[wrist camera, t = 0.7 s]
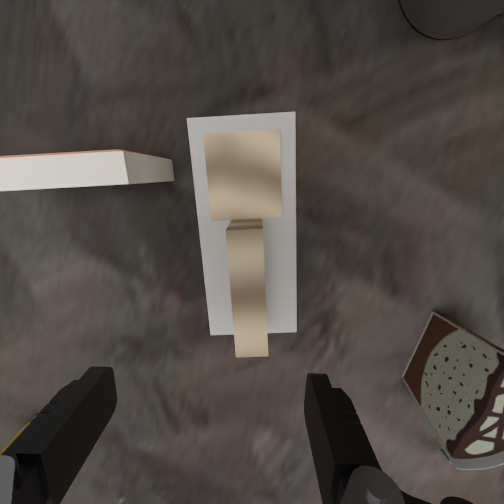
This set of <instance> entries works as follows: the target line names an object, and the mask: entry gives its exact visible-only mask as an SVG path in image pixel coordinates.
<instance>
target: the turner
mask: <svg viewBox="0 0 504 504" xmlns="http://www.w3.org/2000/svg"><path fill="white" fill-rule="evenodd" d="M203 140H204V150H205V161H206V171H207V182H208V192H209V202H210V213H211V221H219V220H231V221H230V223H229V225H228V227H227V229H226V242H227V254H228V266H229V279H230V291H231V303H232V315H233V327H234V340H235V352H236V357H261V356H268V338H267V314H266V290H265V266H264V242H263V225H262V218H279V217H282V197H281V150H280V129H272V130H255V131H238V132H221V133H205V134H203Z"/></svg>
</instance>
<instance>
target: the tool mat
mask: <svg viewBox="0 0 504 504" xmlns="http://www.w3.org/2000/svg"><path fill="white" fill-rule="evenodd" d="M187 125H188V134H189V143H190V152H191V162H192V171H193V180H194V189H195V198H196V207H197V216H198V225H199V234H200V243H201V252H202V261H203V271H204V280H205V289H206V298H207V307H208V316H209V325H210V334H211V335H232V334H234V327H233V315H232V303H231V291H230V279H229V266H228V254H227V242H226V229H227V227H228V225H229V223H230V221H231V220H219V221H211V213H210V202H209V192H208V182H207V171H206V161H205V150H204V140H203V134H205V133H221V132H238V131H255V130H272V129H280V150H281V197H282V217H279V218H262V225H263V242H264V266H265V290H266V314H267V333H286V332H297V289H296V130H295V112H280V113H264V114H248V115H231V116H215V117H199V118H187Z"/></svg>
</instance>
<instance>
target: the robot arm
mask: <svg viewBox="0 0 504 504" xmlns="http://www.w3.org/2000/svg"><path fill="white" fill-rule="evenodd" d="M400 3H401V6H402V8H403V11H404V13H405V16H406V17H407V18H408V20H409V21H410V23H411V24H412V25H413V26H414V27H415V28H416V29H417V30H418V31H420V32H421V33H423V34H425V35H427V36H429V37H431V38H437V39H453V38H457V37H460V36H463V35H466V34H468V33H469V32H471V31H473V30H475V29H477V28H478V27H480V26H481V25H483V24H484V23H486V22H487V21H489V20H490V19H492V18H493V17H495V16H496V15H502V14H504V0H400ZM116 403H117V394H116V386H115V379H114V372H113V369H112V368H111V367H90V368H89V369H88V370H87V371H86V372H85V373H84V375H83V376H82V377H81V378H80V379H79V380H74V381H72V382H71V383H69V384H68V385H66V386H65V387H64V388H62V389H61V390H60V391H59V392H58V393H57V394H56V395H55V396H54V397H53V398H52V399H51V400H50V402H49V404H47V405H46V406H45V407H44V408H43V409H42V410H41V411H40V414H38V415H37V416H36V417H35V418H34V419H33V420H32V421H31V422H30V423H29V425H28V426H27V427H26V428H25V429H24V430H23V431H22V432H21V433H20V434H19V436H18V437H17V438H16V439H15V440H14V441H13V442H12V443H11V444H10V445H9V446H8V448H7V449H6V450H5V451H4V452H3V453H2V454H1V455H0V504H60V502H61V501H62V499H63V497H64V496H65V494H66V492H67V491H68V489H69V487H70V486H71V484H72V482H73V481H74V479H75V477H76V476H77V474H78V472H79V470H80V469H81V467H82V465H83V464H84V462H85V460H86V459H87V457H88V455H89V454H90V452H91V450H92V449H93V447H94V445H95V444H96V442H97V440H98V439H99V437H100V435H101V434H102V432H103V430H104V428H105V427H106V425H107V423H108V422H109V420H110V418H111V417H112V415H113V413H114V411H115V408H116ZM304 414H305V422H306V426H307V431H308V436H309V441H310V445H311V450H312V455H313V460H314V465H315V469H316V474H317V479H318V484H319V488H320V493H321V498H322V503H323V504H431V503H429V502H426V501H423V500H420V499H418V498H415V497H413V496H410V495H408V494H406V493H405V492H403V491H401V490H400V489H399V487H398V486H397V485H396V483H395V482H394V481H393V480H392V479H391V478H390V477H389V476H388V475H387V474H386V473H384V472H383V471H382V469H381V467H380V465H379V463H378V461H377V458H376V456H375V454H374V452H373V449H372V447H371V445H370V442H369V440H368V438H367V435H366V433H365V431H364V429H363V426H362V424H361V422H360V419H359V417H358V415H357V414H356V410H355V408H354V406H353V403H352V401H351V399H350V398H349V397H348V395H347V394H346V393H345V392H344V391H343V390H342V389H341V388H332V386H331V384H330V381H329V378H328V376H327V374H316V373H308V374H307V381H306V391H305V401H304ZM440 504H473V503H471V502H469V501H467V500H465V499H462V498H459V497H446V498H444V499H443V500H442V501H441V503H440Z"/></svg>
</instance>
